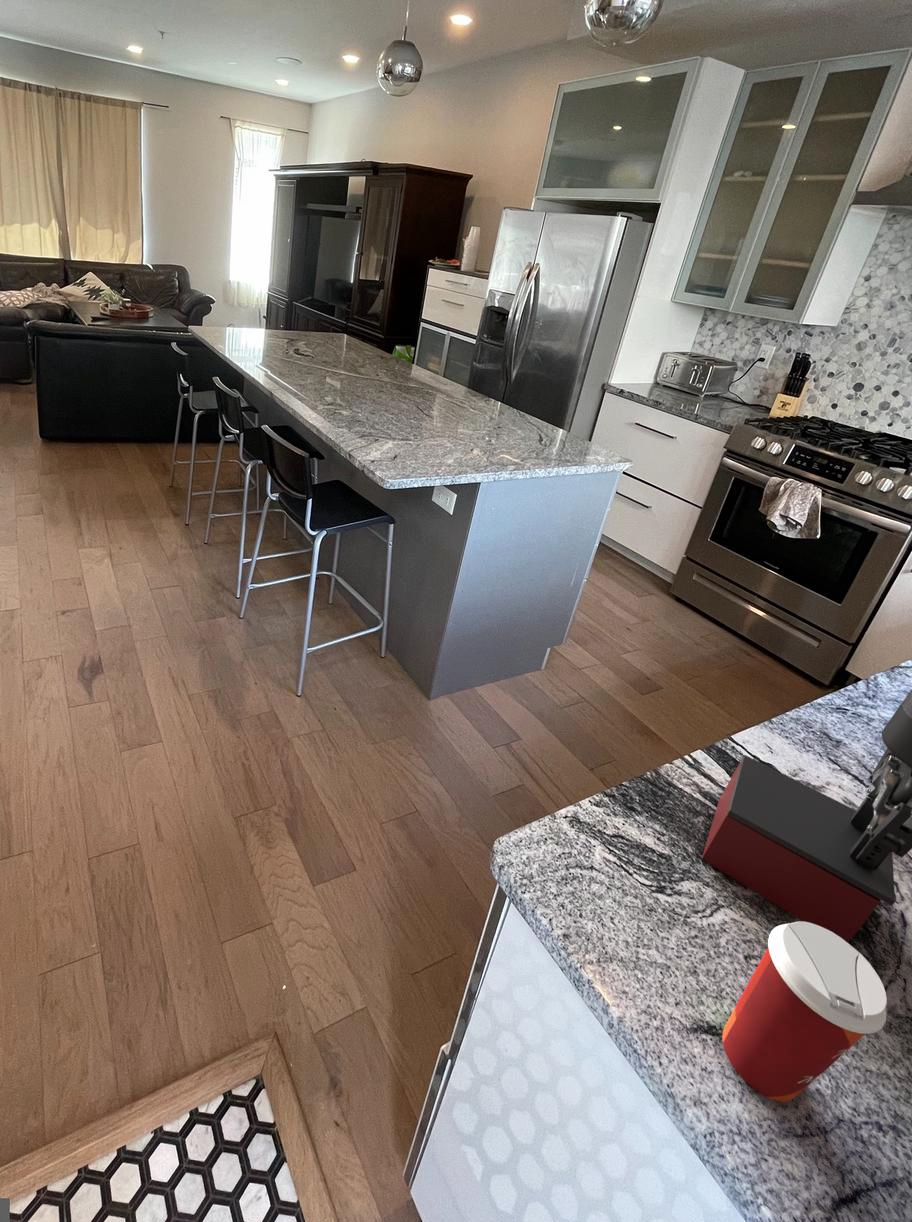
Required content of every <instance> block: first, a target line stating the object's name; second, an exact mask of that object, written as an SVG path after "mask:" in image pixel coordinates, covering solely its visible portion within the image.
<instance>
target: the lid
mask: <svg viewBox="0 0 912 1222" xmlns="http://www.w3.org/2000/svg"><path fill="white" fill-rule="evenodd" d="M741 760H742V762H741V761H740V762H741V765H740V769H739V773H738V776H737V780H736V784H735V787H734V791H733V795H732V798H731V802H730V806H729V809H728V813H727V815H728V816H730V817H732V818H734V819H735V820H737V821H739V822H741V823H743V824H744V825H746V826H748V827H750V828H752V829H754V830H755V831H757V832H759V833H761V834H763V835H764V836H766V837H768V838H770V839H772V840H773V841H775V842H777V843H779V844H781V845H782V846H784V847H786V848H788V849H790V850H791V851H793V852H795V853H797V854H799V855H801V856H802V857H804V858H806V859H808V860H810V861H811V862H813V863H815V864H817V865H819V866H820V867H822V868H824V869H826V870H828V871H829V872H831V873H833V874H835V875H837V876H839V877H840V878H842V879H844V880H846V881H848V882H849V883H851V884H853V885H855V886H857V887H858V888H860V889H862V890H864V891H866V892H867V893H869V894H871V895H873V896H875V897H876V898H878V899H880V901H882V902H884V903H886V904H887V905H889V906H893V905H894V904H895V902H896V893H895V877H894V859H893V858H894V857H893V852H890V853H889V854H888V856H887V857H886V858H885V859H884V861H883V862H882V863H881V864H880V866H879V867H878V868H877V869H876V870H869V869H868V868H866V867H864V866H862V865H860V864H859V863H857V862H855V861H853V860H852V859H851V857H850V851H851V849H852V848H853V846H854V845H855V844H856V842H857V841H858V840H859V838H860V837H861V836H862V834H863V833H864V832H863V831H861V830H859V829H857V828H855V827H854V826H852V824H851V817H852V816H853V814H854V813H855V812H856V810H857V809H854V808H852V807H850V806H848V805H846V804H844V803H842V802H840V801H838V800H837V799H835V798H833V797H830V796H829V795H826V794H824V793H822V792H820V791H818V790H817V789H815V788H812V787H810V786H808V785H807V784H804V783H802V782H800V781H799V780H797V779H794V778H793V777H790V776H788V775H786V774H784V773H783V772H780V771H778V770H776V769H774V768H773V767H770V766H768V765H766V764H764V763H762V762H761V761H759V760H756V759H754V758H753V757H750V756H748V755H746V754H744V755H743V756H742V758H741ZM885 807H886V808H888V809H890V810H892V811H893V808H892V807H891V806H889V805H886V804H885ZM875 813H876V812H875V810H874V815H875Z"/></svg>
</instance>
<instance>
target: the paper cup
mask: <svg viewBox="0 0 912 1222" xmlns="http://www.w3.org/2000/svg"><path fill="white" fill-rule="evenodd" d="M749 979H750V980H749V981H748V983H747V985H746V986H745V989H744V990H743V992H742V994H741V996H740V998H739V999H738V1001H737V1003H736V1004H735V1007H734V1008H733V1011H732V1012H731V1014H730V1016H729V1018H728V1020H727V1022H726V1024H725V1025H724V1028H723V1030H722V1035H721V1036H722V1037H721V1038H722V1046H723V1048H724V1052H725V1054H726V1056H727V1059H728V1061H729V1062H730V1064H731V1066H732V1067H733V1069H734V1070H735V1071H736V1073H737V1074H738V1075H739V1076H740V1077H741V1079H742V1080H743V1081H744V1082H745V1083H746V1084H747V1085H748V1086H750V1087H751V1088H752V1089H753V1090H754V1091H755V1092H757V1093H758V1094H760V1095H762V1096H763V1097H765V1098H767V1099H769V1100H772V1101H775V1102H780V1103H781V1102H782V1103H785V1102H790V1101H791V1100H793V1099H794V1098H795V1097H797V1096H798V1095H799V1094H801V1092H803V1091H804V1090H805V1089H807V1088H808V1087H809V1086H810V1085H811V1084H812V1083H813V1082H814V1081H815V1080H816V1079H818V1078H819V1077H820V1076H821V1075H822V1074H823V1073H824V1072H826V1070H828V1069H829V1068H830V1067H831V1066H832V1065H834V1063H836V1061H838V1060H839V1059H840V1058H841V1057H842V1056H843V1055H844V1054H846V1052H848V1050H850V1049H851V1048H852V1047H853V1046H854V1045H855V1044H856V1043H858V1042H859V1041H860V1040H861V1039H862V1038H863V1037H864V1036H865V1035H866V1034H867V1035H869V1034H874V1033H877V1032H879V1031H881V1029H882V1028H883V1027H884V1026H885V1024H886V1021H887V1003H888V1002H887V1001H888V999H887V998H888V997H887V993H886V990H885V987H884V984H883V982H882V980H881V978H880V976H879V975H878V973H877V972H876V970H875V969H874V967H873V966H872V965H871V963H870V962H869V961H868V960H867V959H866V958H865V956H863V954H861V953H860V951H858V950H857V949H856V948H855V947H853V946H852V945H851V944H849V943H847V942H846V941H844V940H843V939H842V938H841V937H839V936H837V935H836V934H834V933H833V932H831V931H829V930H827V929H825V928H823V927H820V926H818V925H815V924H812V923H808V922H804V921H795V922H794V921H793V922H791V923H784V924H780V925H777V926H775V927H774V928H773V929H771V931H770V934H769V936H768V939H767V948H766V950H765V952H764V954H763V956H762V958H761V960H760V962H759V963H758V965H757V967H756V968H755V970H754V972H753V974H752V976H751V977H750V978H749Z"/></svg>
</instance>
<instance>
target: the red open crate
mask: <svg viewBox="0 0 912 1222" xmlns="http://www.w3.org/2000/svg"><path fill="white" fill-rule="evenodd" d="M741 762H742V759H740V762H739V763H738V765H737V767H736V769H735V770H734V772H733V774H732V775H731V778H730V779H729V781H728V783H727V785H726V786H725V789H724V790H723V792H722V794H721V795H720V797H719V799H718V802H717V806H716V809H715V812H714V817H713V819H712V823H711V826H710V830H709V833H708V836H707V840H706V842H705V846H704V850H703V854H702V856H701V859H702V860H703V861H704V862H706V863H708V864H709V865H711V866H712V867H713V868H716V869H717V870H719V871H721V872H722V873H724V874H726V875H727V876H729V877H730V878H732V879H734V880H735V881H737V882H739V883H740V884H742V885H743V886H745V887H747V888H748V889H750V890H752V891H753V892H755V893H757V894H758V895H760V896H761V897H763V898H764V899H766V900H768V901H769V902H771V903H772V904H774V905H776V906H778V907H779V908H781V909H782V910H784V911H786V912H787V913H789V914H791V915H792V916H793V917H796V918H797V919H799V921H800V920H801V922H808V923H812V924H815V925H818V926H820V927H823V928H825V929H827V930H829V931H831V932H833V933H834V934H836V935H837V936H839V937H841V938H842V939H843V940H844V941H846V942H847V943H848V944H849V942H851V940H852V939H853V937H854V936H855V935H856V934H857V932H858V931H859V930H860V929H861V927H862V926H863V924H865V922H866V921H867V920H868V918H869V917H870V915H872V913H873V912H874V910H875V909H876V908H877V907H878V905H879V904H880V902H881V900H880V899H878V898H876V897H875V896H873V895H871V894H869V893H867V892H866V891H864V890H862V889H860V888H858V887H857V886H855V885H853V884H851V883H849V882H848V881H846V880H844V879H842V878H840V877H839V876H837V875H835V874H833V873H831V872H829V871H828V870H826V869H824V868H822V867H820V866H819V865H817V864H815V863H813V862H811V861H810V860H808V859H806V858H804V857H802V856H801V855H799V854H797V853H795V852H793V851H791V850H790V849H788V848H786V847H784V846H782V845H781V844H779V843H777V842H775V841H773V840H772V839H770V838H768V837H766V836H764V835H763V834H761V833H759V832H757V831H755V830H754V829H752V828H750V827H748V826H746V825H744V824H743V823H741V822H739V821H737V820H735V819H734V818H732V817H730V816H728V815H727V813H728V809H729V806H730V802H731V798H732V795H733V791H734V787H735V784H736V780H737V776H738V773H739V769H740V765H741Z"/></svg>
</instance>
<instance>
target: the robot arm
mask: <svg viewBox="0 0 912 1222" xmlns="http://www.w3.org/2000/svg"><path fill="white" fill-rule="evenodd" d="M881 739H882V742H883V744H884V746H885V747H886V749H885V751H884V753H883V754H882V756H881V758H880V760H879V761H878V763H877V764H876V766H875V768H874V769H873V771H872V773H871V774H869V776H868V783H870V785H869V787H867V788H866V790H865V798H863V799H864V800H863V801H862V802H861V803H860V804H859V806H858V807H857V809H855V810H856V812H855V813H854V814H853V816H852V817H851V824H852V826H854V827H855V828H857V829H859V830H861V831H863V832H864V833H863V834H862V836H861V837H860V838H859V840H858V841H857V842H856V844H855V845H854V846H853V848H852V849H851V851H850V857H851V859H852V860H853V861H855V862H857V863H859V864H860V865H862V866H864V867H866V868H868V869H869V870H876V869H877V868H878V867H879V866H880V864H881V863H882V862H883V861H884V859H885V858H886V857H887V856H888V854H889V853H890V852H892V854H894V855H896V856H897V857H899V858H903V857H905V856H906V855H907V854H908V853H909V852H910V851H911V850H912V688H911V689H910V691H909V692H908V693H907V695H906V697H905V698H904V699H903V700H902V702H901V704H900V705H899V707H898V708H897V709H896V710H895V712H894V713H893V714H892V716H891V717H890V719H889V721H888V722H887V723H886V725H885V726H884V728H883V729H882V730H881ZM885 804H886V805H889V806H891V807H892V808H893V811H892V810H890V809H888V808H886V807H885ZM874 810H875V812H876V813H875V815H874Z"/></svg>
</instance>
